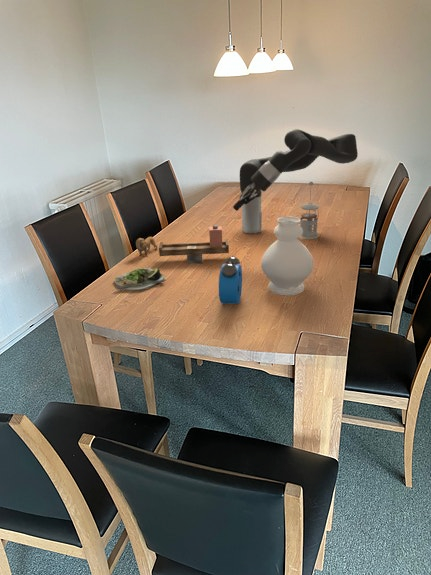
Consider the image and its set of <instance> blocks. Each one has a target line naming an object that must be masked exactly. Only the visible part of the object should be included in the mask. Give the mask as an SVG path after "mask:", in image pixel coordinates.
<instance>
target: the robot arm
mask: <svg viewBox="0 0 431 575" xmlns="http://www.w3.org/2000/svg"><path fill="white" fill-rule="evenodd" d="M283 141H284V144H285V146H286V147H287V148H288V149H289V150H285V151H282V150H277V151H275V152H274V154H273V155H272V156H268V157H264V158H263V157H262V158H255V159H250V160H247V161H245V162H244V163H243V164H242V165H241V166H240V169H239V189H240V192H241V194H240V195H239V198H238V199H239V200H237V201H236V202H235V204H234V205H232V206H233V207H232V208H233V209H234V210H235V211H239V210H240V209H241V231H242V232H243V233H245V234H257V233H262V227H263V224H262V223H263V222H262V221H263V220H262V218H263V216H262V192H266V191H267V190H268V189H269V187H271V186H272V185H273V184H274V182H276V180H277V179H279V177H280V176H281V175H282V173H291V172H297V171H300V170H304V169H306V168H308V167H309V166H311V165H312V164H313V163H314V162H315V161H316V160H317V158H319V157H323V158H325V159H327V160H329V161H332V162H334V163H337V164H341V165H343V164H349V163H353V162H355V161H356V160H357V159H358V155H359V154H358V148H357V138H356V135H355V134H353V133H346V134H341V135H338V136H335V137H333V138H332V137H331V138H330V139H327V138H325V137H323V136H319V135H312V134H310V133H308V132H306V131H304V130H301V129H298V128H297V129H296V128H295V129H291V130H289V131H288V132H287V133H286V134H285V136H284V139H283Z"/></svg>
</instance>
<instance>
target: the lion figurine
mask: <svg viewBox="0 0 431 575" xmlns="http://www.w3.org/2000/svg"><path fill="white" fill-rule="evenodd" d="M151 245H152V247H153V248H154V251H159V247H158V244H156V241H155V238H154V237H153V236H148V237H147V238H141V237H139V238H137V239H136V241H135V246H136V249H137V251H138V252H139V255H138V257H139V258H141V257H143V252H144V257H145V258H148V257H149V256H148V252H150V250H151Z"/></svg>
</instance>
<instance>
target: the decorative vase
mask: <svg viewBox="0 0 431 575" xmlns="http://www.w3.org/2000/svg"><path fill="white" fill-rule="evenodd" d="M300 219H301V218H300V217H297V216H291V215H290V216H289V215H288V216H287V215H286V216H280V217H278V218H277V219H276V220H277V224H278V225H276V226H275V228H274V229H273V233H274V235H275V237H276V238H277V239H276V240H275V241H274V242H273V243H272V244H271V245H269V247H268V248H267V249H266V251H265V252H264V253H263V255H262V258H261V262H260V264H261V266H260V267H261V270H262V272H263V273H264V275H265V277H266V278H267V279H268V280H269V281H270V282H269V283H268V289H269V291H270V292H272V293H273V294H277V295H279V296H295V295H298V294H301V293H303V291H304V290H305V284H303V283H304V282H305V281H306V279H308V277H310V276H311V274H312V272H313V270H314V258H313V255H312V254H311V251H309V249H308V248H307V246H305V244H304V243H303V242H302V241H301V240H299V239H300V238H299V237H300V236H301V235H302V233H303V230H302V228H301V227H300Z"/></svg>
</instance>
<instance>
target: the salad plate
mask: <svg viewBox="0 0 431 575" xmlns="http://www.w3.org/2000/svg"><path fill="white" fill-rule="evenodd" d="M165 281H167V279H165V275H164V274H163V273H161V271H160V269H159V268H158V267H155V268H153V269H152V268H148V267H142V268H136V269H132V270H131V271H128V272H125V273H122V274H120V275H117V276H116V277H115V278H114V280H113V283H114V284H115V285H116V287H115V290H118V291H120V290H124V291H133V292H134V291H136V292H137V291H138V292H139V291H144V290H146V289H147V290H148V289H149V288H153V287H155V286H158V285H160V284H162V283H164V282H165ZM124 282H125V283H124Z"/></svg>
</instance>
